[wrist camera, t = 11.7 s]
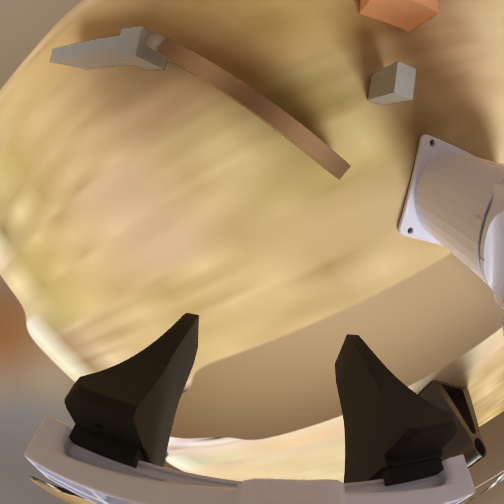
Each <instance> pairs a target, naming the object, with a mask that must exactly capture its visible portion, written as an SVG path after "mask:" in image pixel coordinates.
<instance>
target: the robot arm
mask: <svg viewBox="0 0 504 504" xmlns="http://www.w3.org/2000/svg"><path fill="white" fill-rule="evenodd" d="M430 140H432V141H433V145H432V146H431V145H430ZM409 228H411V231H410V232H408V229H409ZM398 231H399V233H400V234H401V235H404V236H408V237H412V238H416V239H420V240H424V241H428V242H432V243H436V244H440V245H443V246H444V247H446V248H447V249H448V250H449V251H450V252H452V253H453V254H454V255H455V256H456V257H458V258H459V259H460V260H461V261H462V262H463V263H464V264H466V265H467V266H468V267H469V268H470V269H471V270H472V271H474V272H475V273H476V274H477V275H478V276H479V277H480V278H481V279H482V280H483V281H484V282H485V283H486V284H488V286H489V287H491V289H492V290H493V292H494V301H495V302H496V303H497V304H498V305H499V306H500V307H501V308H502V309H503V310H504V164H501V163H497V162H493V161H490V160H486V159H482V158H478V157H476V156H474V155H472V154H470V153H468V152H466V151H464V150H462V149H460V148H458V147H455V146H453V145H451V144H449V143H447V142H444V141H442V140H440V139H437V138H435V137H433V136H430V135H427V134H423V135H422V136H421V137H420V140H419V146H418V151H417V155H416V160H415V165H414V169H413V173H412V178H411V182H410V186H409V190H408V194H407V197H406V201H405V205H404V208H403V212H402V216H401V219H400V222H399V226H398ZM198 323H199V315H195V314H189V313H186V314H184V315H183V316H182V317H181V318H180V319H179V320H178V321H177V322H176V323H175V324H174V325H173V326H172V327H171V328H170V329H169V330H168V331H167V332H165V333H164V334H163V335H162V336H161V337H160V338H159V339H157V340H156V341H155V342H153V343H152V344H151V345H150V346H148V347H147V348H145V349H144V350H142V351H141V352H139V353H138V354H136V355H135V356H133V357H131V358H129V359H128V360H126V361H124V362H122V363H120V364H118V365H115V366H113V367H111V368H108V369H105V370H103V371H100V372H97V373H93V374H89V375H86V376H82V377H79V379H78V380H77V381H76V382H75V384H74V385H73V387H72V388H71V390H70V392H69V393H68V395H67V396H66V398H65V405H66V408H67V410H68V412H69V413H70V415H71V417H72V419H73V420H74V422H75V426H74V428H73V429H72V428H70V427H69V426H68V425H66V424H64V423H62V422H60V421H58V420H56V419H54V418H52V417H50V416H48V415H46V417H45V418H44V420H43V422H42V423H41V425H40V427H39V428H38V430H37V432H36V433H35V435H34V437H33V438H32V440H31V442H30V444H29V445H28V447H27V449H26V451H25V453H24V456H25V457H26V458H27V459H28V460H29V461H30V462H31V463H32V464H33V465H34V466H35V467H36V468H37V469H38V470H39V471H40V472H41V473H43V474H44V475H45V476H46V477H47V478H48V479H50V480H52V481H54V482H55V483H57V484H59V485H61V486H63V487H64V488H66V489H68V490H70V491H72V492H74V493H76V494H78V495H80V496H82V497H84V498H86V499H88V500H90V501H92V502H94V503H96V504H458V503H460V502H461V501H463V500H464V499H466V498H468V497H469V496H471V495H472V494H474V493H475V488H474V485H473V482H472V479H471V475H470V472H469V470H468V466H467V463H466V461H465V458H464V455H459V456H455V457H452V458H449V459H446V460H444V461H442V462H441V458H440V457H442V456H443V452H442V448H443V447H444V446H445V445H446V444H447V443H448V442H449V441H450V440H451V439H452V438H453V437H454V436H455V435H456V433H457V431H458V425H457V423H456V420H455V418H454V416H453V414H452V413H450V412H448V411H446V410H443V409H441V408H439V407H437V406H435V405H433V404H432V403H430V402H428V401H426V400H425V399H423V398H422V397H420V396H419V395H417V394H416V393H415V392H413V391H412V390H410V389H409V388H408V387H407V386H405V385H404V384H403V383H402V382H401V381H400V380H398V379H397V378H396V377H395V376H394V375H393V374H392V373H391V372H390V371H389V370H388V369H387V368H386V367H385V365H384V364H383V363H382V362H381V361H380V360H379V359H378V358H377V357H376V355H375V354H374V353H373V352H372V351H371V349H369V347H368V346H367V345H366V343H365V342H364V341H363V340H362V339H361V338H360V337H359V336H358V335H347V336H346V339H345V341H344V343H343V346H342V349H341V351H340V353H339V355H338V358H337V360H336V363H335V373H336V383H337V388H338V393H339V398H340V403H341V408H342V413H343V419H344V428H345V474H344V483H342V482H340V481H338V480H327V479H325V480H285V479H250V480H244V481H243V482H242V481H234V480H226V479H219V478H213V477H207V476H202V475H196V474H192V473H187V472H182V471H178V470H174V469H169V468H165V467H164V462H165V456H166V451H167V447H168V442H169V437H170V433H171V429H172V425H173V421H174V417H175V413H176V409H177V405H178V403H179V399H180V397H181V394H182V392H183V389H184V387H185V384H186V382H187V379H188V377H189V374H190V372H191V369H192V367H193V364H194V360H195V356H196V352H197V348H198ZM503 334H504V319H503Z"/></svg>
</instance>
